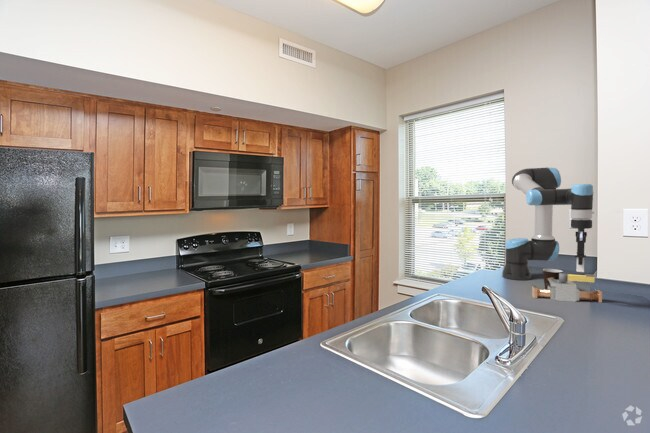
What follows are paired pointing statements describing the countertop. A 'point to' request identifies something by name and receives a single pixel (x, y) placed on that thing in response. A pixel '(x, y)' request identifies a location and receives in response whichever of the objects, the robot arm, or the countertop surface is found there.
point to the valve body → (566, 292)
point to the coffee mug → (550, 276)
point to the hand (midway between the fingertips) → (580, 271)
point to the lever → (576, 277)
